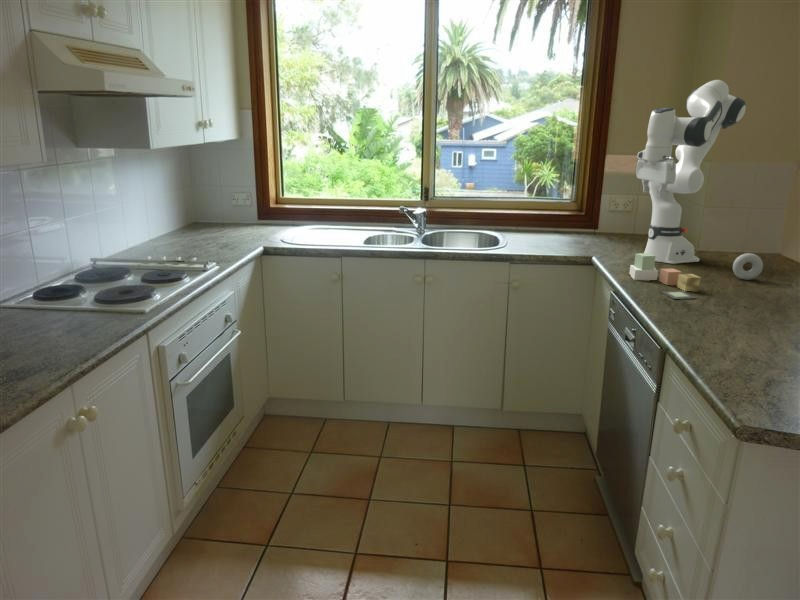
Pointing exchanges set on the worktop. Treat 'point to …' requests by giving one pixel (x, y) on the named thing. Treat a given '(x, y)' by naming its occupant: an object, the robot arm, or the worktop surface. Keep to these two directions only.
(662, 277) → the terracotta cube
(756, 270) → the donut
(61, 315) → the worktop surface
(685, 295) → the tile
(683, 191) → the robot arm
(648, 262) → the sage cube
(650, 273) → the base block
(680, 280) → the ochre cube
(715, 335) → the worktop surface
